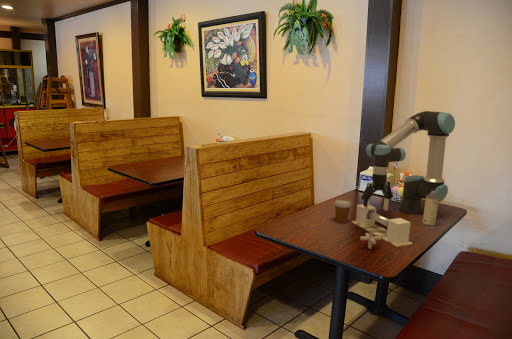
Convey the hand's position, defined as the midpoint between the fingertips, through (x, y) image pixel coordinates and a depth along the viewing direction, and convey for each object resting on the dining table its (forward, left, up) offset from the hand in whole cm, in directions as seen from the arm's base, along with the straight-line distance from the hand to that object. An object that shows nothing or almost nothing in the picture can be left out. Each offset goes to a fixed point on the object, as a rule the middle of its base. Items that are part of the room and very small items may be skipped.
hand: (375, 211), depth 207 cm
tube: (0, 0, -6) cm, 6 cm away
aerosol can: (-37, +4, -11) cm, 39 cm away
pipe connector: (+19, +19, -11) cm, 29 cm away
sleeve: (0, -8, -11) cm, 14 cm away
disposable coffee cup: (+10, -17, -11) cm, 23 cm away
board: (0, +4, -11) cm, 12 cm away
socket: (0, +17, -11) cm, 21 cm away
